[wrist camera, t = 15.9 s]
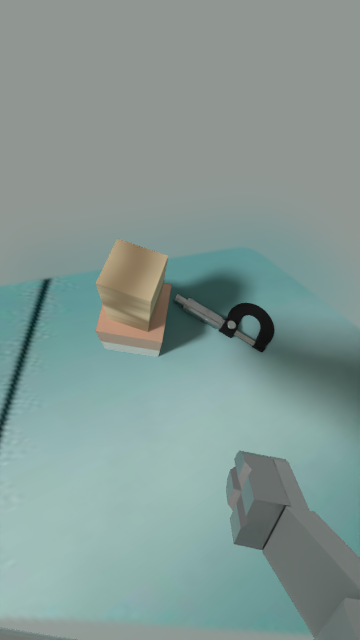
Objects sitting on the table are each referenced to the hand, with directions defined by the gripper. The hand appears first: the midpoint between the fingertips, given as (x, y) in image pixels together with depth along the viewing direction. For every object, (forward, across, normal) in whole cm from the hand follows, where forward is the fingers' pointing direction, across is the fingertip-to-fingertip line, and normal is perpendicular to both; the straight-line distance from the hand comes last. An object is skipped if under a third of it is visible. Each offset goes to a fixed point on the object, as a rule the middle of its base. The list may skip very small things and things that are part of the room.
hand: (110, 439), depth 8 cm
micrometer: (+31, -9, +4) cm, 33 cm away
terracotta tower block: (+24, +3, +5) cm, 25 cm away
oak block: (+21, +3, +2) cm, 21 cm away
